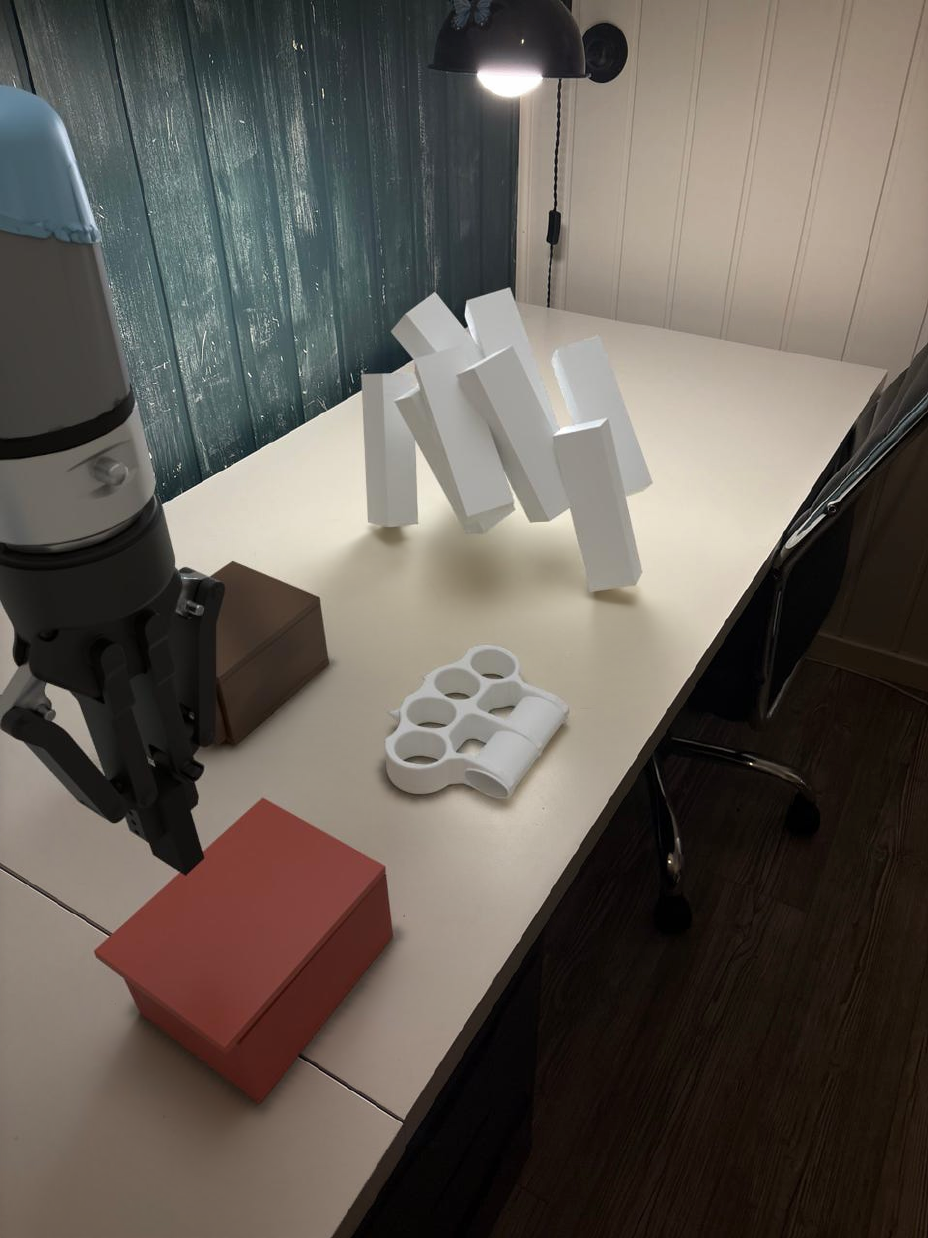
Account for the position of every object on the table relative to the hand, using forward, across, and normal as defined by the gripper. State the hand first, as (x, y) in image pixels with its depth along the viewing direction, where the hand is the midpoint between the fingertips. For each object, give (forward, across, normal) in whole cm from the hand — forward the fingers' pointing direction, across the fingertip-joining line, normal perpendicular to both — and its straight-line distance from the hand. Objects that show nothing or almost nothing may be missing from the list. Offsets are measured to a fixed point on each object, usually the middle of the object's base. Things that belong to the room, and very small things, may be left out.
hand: (178, 856), depth 53 cm
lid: (+10, +3, 0) cm, 10 cm away
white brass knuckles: (+18, +32, +1) cm, 37 cm away
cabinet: (+18, +26, +24) cm, 40 cm away
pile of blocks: (+18, +63, +16) cm, 68 cm away
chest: (+18, +4, 0) cm, 18 cm away
